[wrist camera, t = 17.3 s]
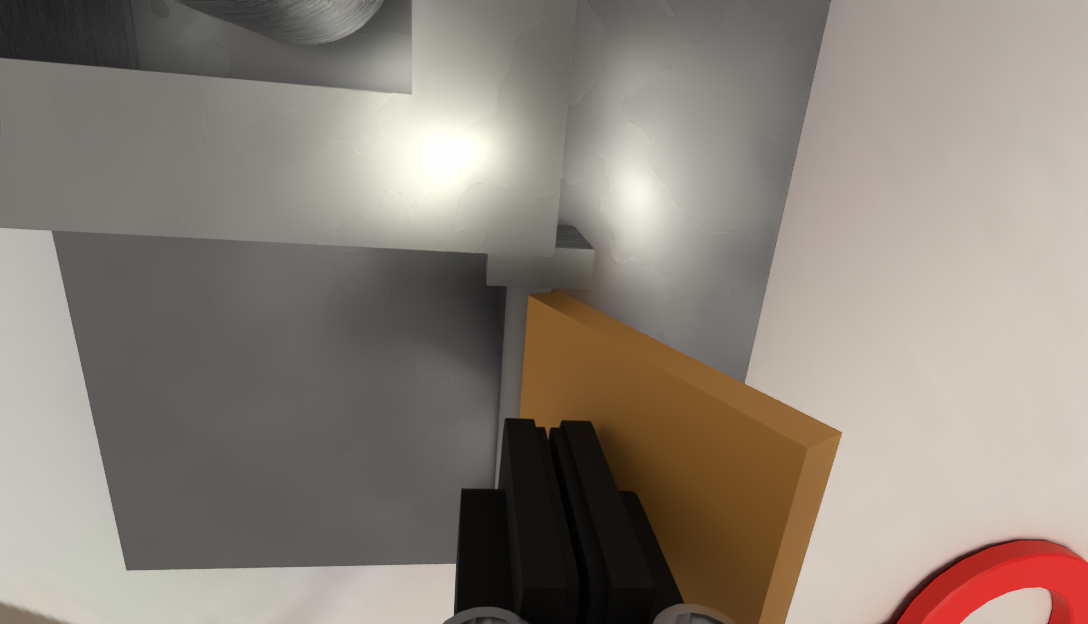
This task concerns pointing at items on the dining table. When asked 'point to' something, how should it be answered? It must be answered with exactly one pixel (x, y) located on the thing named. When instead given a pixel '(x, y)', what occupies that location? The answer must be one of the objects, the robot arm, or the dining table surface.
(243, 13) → the pin
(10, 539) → the dining table surface
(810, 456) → the tab
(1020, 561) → the tow hook
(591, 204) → the plate
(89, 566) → the dining table surface
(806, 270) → the dining table surface
